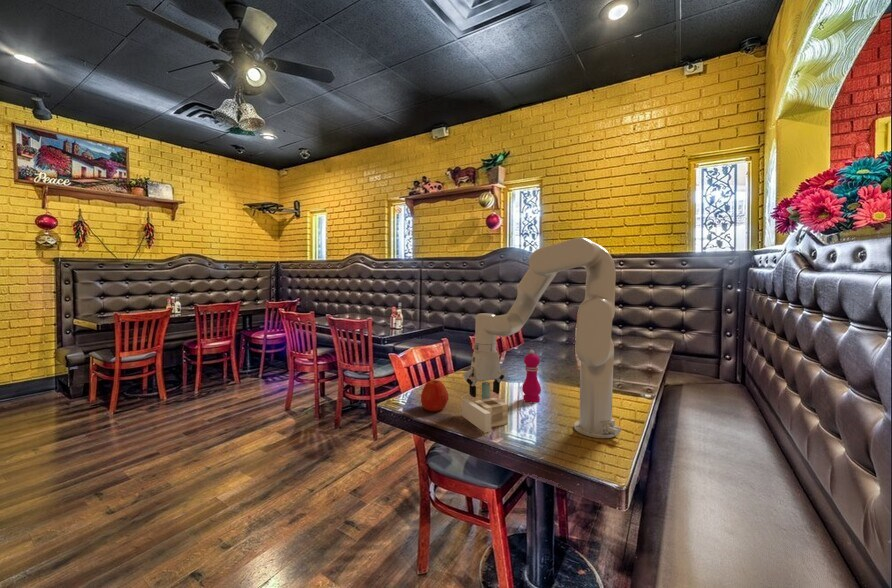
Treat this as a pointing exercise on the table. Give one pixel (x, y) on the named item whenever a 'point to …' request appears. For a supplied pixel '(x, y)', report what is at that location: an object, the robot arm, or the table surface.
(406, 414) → the table surface
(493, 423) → the block
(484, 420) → the wall
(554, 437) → the table surface
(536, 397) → the pepper mill
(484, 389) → the dowel
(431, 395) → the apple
